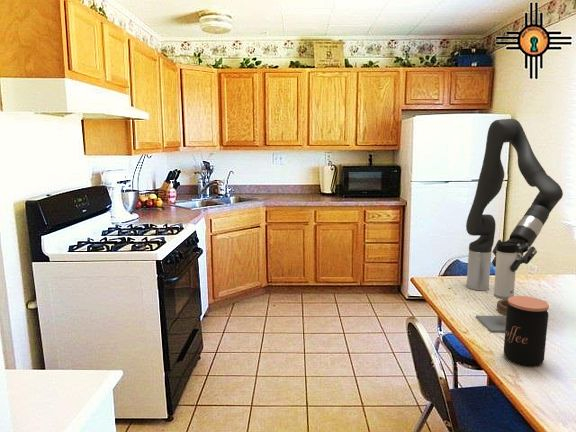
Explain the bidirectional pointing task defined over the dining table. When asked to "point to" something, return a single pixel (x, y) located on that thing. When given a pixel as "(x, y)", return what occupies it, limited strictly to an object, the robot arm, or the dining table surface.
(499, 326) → the slate mat
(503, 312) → the ring
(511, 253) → the travel mug
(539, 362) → the coffee jar
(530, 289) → the dining table surface
